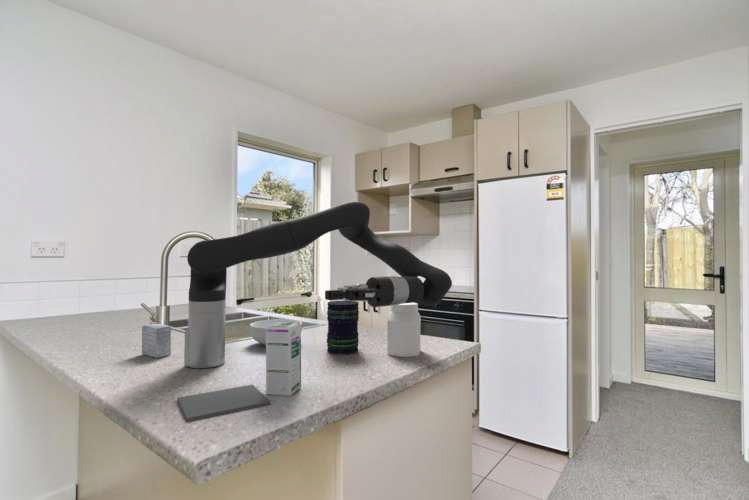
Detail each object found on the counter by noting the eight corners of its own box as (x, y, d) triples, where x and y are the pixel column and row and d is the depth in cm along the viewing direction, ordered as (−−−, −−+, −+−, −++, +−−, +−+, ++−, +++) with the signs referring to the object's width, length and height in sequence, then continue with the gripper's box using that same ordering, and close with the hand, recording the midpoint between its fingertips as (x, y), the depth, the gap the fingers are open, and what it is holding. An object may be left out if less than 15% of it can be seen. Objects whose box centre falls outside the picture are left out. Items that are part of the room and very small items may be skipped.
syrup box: (290, 396, 82) (291, 326, 82) (264, 394, 83) (265, 325, 83) (301, 387, 87) (302, 322, 88) (276, 385, 88) (277, 321, 89)
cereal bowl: (238, 347, 126) (238, 325, 126) (269, 337, 141) (269, 317, 141) (284, 352, 120) (284, 329, 120) (311, 341, 135) (311, 320, 135)
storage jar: (345, 356, 115) (346, 305, 115) (320, 351, 120) (320, 303, 121) (364, 349, 123) (365, 302, 124) (340, 345, 129) (340, 300, 129)
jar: (391, 347, 127) (391, 300, 127) (421, 348, 125) (421, 301, 125) (385, 356, 116) (386, 305, 116) (418, 357, 114) (418, 306, 114)
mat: (252, 387, 87) (252, 384, 87) (270, 404, 77) (270, 401, 77) (177, 400, 79) (177, 397, 79) (186, 421, 69) (186, 418, 69)
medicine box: (171, 355, 115) (171, 325, 115) (155, 358, 111) (156, 328, 111) (156, 351, 119) (157, 323, 119) (141, 354, 115) (141, 325, 116)
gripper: (372, 275, 106) (314, 278, 97) (402, 277, 95) (340, 280, 86) (372, 303, 106) (314, 308, 97) (403, 308, 95) (340, 315, 86)
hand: (326, 295), depth 91 cm, fingers closed
